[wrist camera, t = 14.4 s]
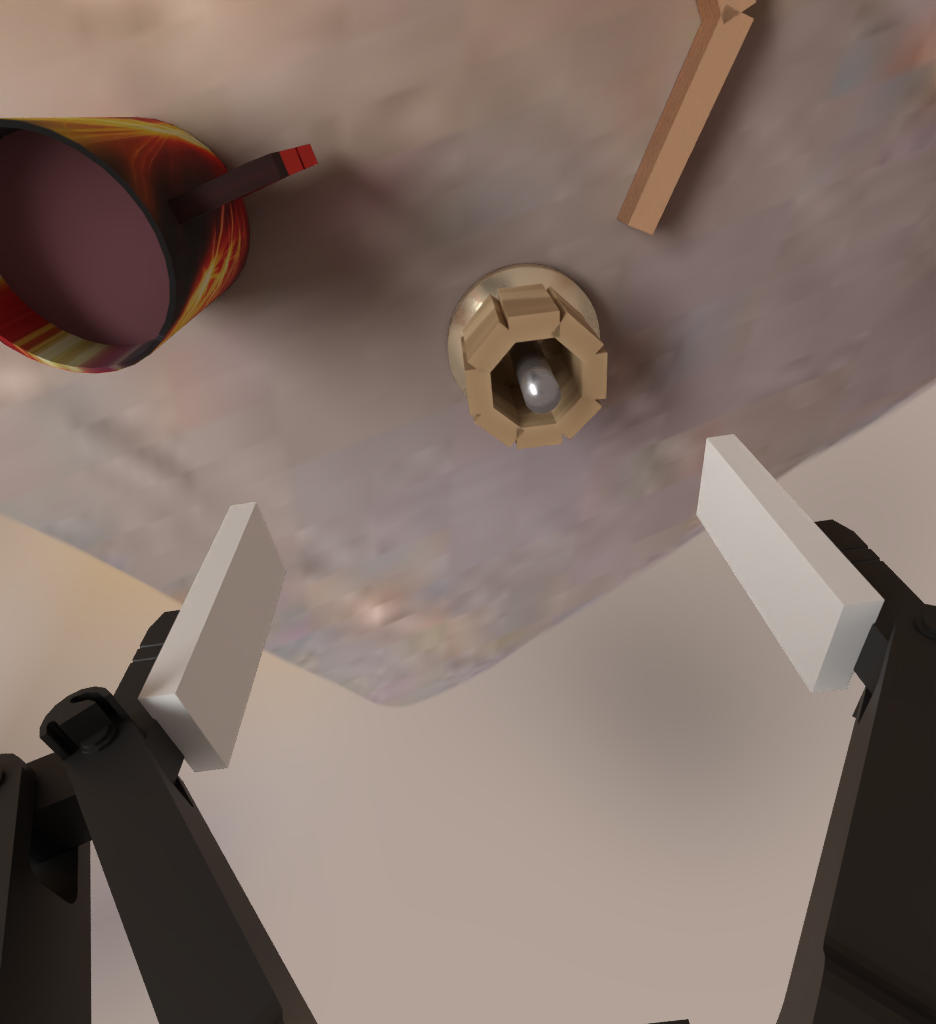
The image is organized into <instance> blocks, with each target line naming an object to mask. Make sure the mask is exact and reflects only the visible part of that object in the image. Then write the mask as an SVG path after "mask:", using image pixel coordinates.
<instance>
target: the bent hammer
mask: <svg viewBox="0 0 936 1024" xmlns="http://www.w3.org/2000/svg"><path fill="white" fill-rule="evenodd" d="M696 2H697V6H698V9H699V13H700V17H701V20H702V23H701V25H700V28H699V30H698V32H697V34H696V37H695V39H694V41H693V44H692V46H691V48H690V51H689V53H688V55H687V58H686V60H685V62H684V65H683V67H682V69H681V72H680V74H679V76H678V78H677V81H676V83H675V85H674V88H673V90H672V92H671V95H670V97H669V99H668V102H667V104H666V106H665V109H664V111H663V113H662V115H661V118H660V120H659V122H658V125H657V127H656V129H655V132H654V134H653V136H652V139H651V141H650V143H649V146H648V148H647V150H646V152H645V155H644V157H643V159H642V162H641V164H640V166H639V169H638V171H637V173H636V176H635V178H634V180H633V183H632V185H631V187H630V190H629V192H628V194H627V196H626V199H625V201H624V203H623V206H622V208H621V210H620V213H619V215H618V217H617V219H618V220H620V221H621V222H623V223H625V224H627V225H629V226H631V227H634V228H637V229H639V230H642V231H644V232H647V233H649V234H652V235H653V233H654V231H655V229H656V226H657V224H658V222H659V220H660V218H661V216H662V214H663V212H664V209H665V207H666V205H667V203H668V201H669V199H670V197H671V195H672V192H673V190H674V188H675V186H676V184H677V182H678V180H679V177H680V175H681V173H682V171H683V169H684V167H685V165H686V163H687V160H688V158H689V156H690V154H691V152H692V150H693V148H694V146H695V143H696V141H697V139H698V137H699V135H700V133H701V131H702V129H703V126H704V124H705V122H706V120H707V118H708V116H709V114H710V112H711V109H712V107H713V105H714V103H715V101H716V99H717V97H718V94H719V92H720V90H721V88H722V86H723V84H724V82H725V80H726V77H727V75H728V73H729V71H730V69H731V67H732V65H733V63H734V60H735V58H736V56H737V54H738V52H739V50H740V48H741V46H742V43H743V41H744V39H745V37H746V35H747V33H748V31H749V29H750V26H751V24H752V22H753V20H754V19H753V18H751V17H750V16H748V15H746V14H744V13H742V12H743V11H744V10H746V9H747V8H748V7H750V6H751V5H753V4H754V3H756V0H696Z"/></svg>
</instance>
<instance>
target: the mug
mask: <svg viewBox="0 0 936 1024" xmlns="http://www.w3.org/2000/svg"><path fill="white" fill-rule="evenodd" d="M316 164H318V162H317V160H316V157H315V155H314V152H313V150H312V147H311V145H310V144H308V145H303V146H299V147H296V148H292V149H288V150H283V151H279V152H275V153H271V154H268V155H265V156H263V157H260V158H258V159H255V160H253V161H250V162H248V163H246V164H244V165H242V166H240V167H238V168H236V169H234V170H232V171H230V172H228V171H227V169H226V168H225V166H224V165H223V163H222V162H221V161H220V160H219V159H218V158H217V157H216V156H215V155H214V154H213V153H212V152H211V150H210V149H209V148H208V147H206V146H205V145H204V144H203V143H201V142H200V141H199V140H197V139H196V138H195V137H193V136H192V135H191V134H189V133H187V132H185V131H183V130H181V129H180V128H178V127H176V126H174V125H171V124H168V123H165V122H162V121H159V120H156V119H148V118H139V117H94V118H0V341H1V342H2V343H4V344H5V345H6V346H8V347H10V348H12V349H14V350H16V351H17V352H19V353H21V354H23V355H25V356H26V357H28V358H31V359H33V360H36V361H38V362H41V363H43V364H46V365H49V366H51V367H55V368H59V369H64V370H68V371H72V372H82V373H104V372H112V371H118V370H121V369H123V368H126V367H129V366H132V365H135V364H136V363H138V362H139V361H141V360H142V359H144V358H145V357H147V356H149V355H150V354H151V353H152V352H154V351H155V350H156V349H157V348H158V347H160V346H161V345H162V344H163V343H164V342H165V341H167V340H168V339H169V338H170V337H171V336H173V335H174V334H175V333H176V332H177V331H178V330H180V329H181V328H182V327H183V326H184V325H186V324H187V323H188V322H189V321H190V320H191V319H193V318H194V317H195V316H196V315H197V314H199V313H200V312H201V311H202V310H203V309H204V308H206V307H207V306H208V305H209V304H210V303H212V302H213V301H214V300H215V299H216V298H217V297H219V296H220V295H221V294H222V293H223V292H224V291H226V290H227V289H228V288H229V287H230V286H231V285H232V284H233V283H234V281H235V280H236V279H237V278H238V276H239V275H240V273H241V271H242V269H243V267H244V266H245V262H246V259H247V255H248V252H249V242H250V229H249V221H248V214H247V211H246V208H245V204H244V201H243V197H245V196H247V195H249V194H251V193H254V192H256V191H258V190H260V189H262V188H264V187H266V186H268V185H271V184H273V183H275V182H277V181H279V180H281V179H283V178H285V177H287V176H290V175H292V174H294V173H297V172H299V171H301V170H304V169H306V168H309V167H311V166H313V165H316Z"/></svg>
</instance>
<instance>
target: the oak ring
mask: <svg viewBox="0 0 936 1024" xmlns="http://www.w3.org/2000/svg"><path fill="white" fill-rule="evenodd" d="M463 334H464V336H462V337H461V346H462V354H463V363H464V371H465V379H466V387H467V395H468V403H469V411H470V415H473V416H474V422H475V423H476V424H477V425H479V426H480V427H482V428H483V429H484V430H486V431H487V432H489V433H490V434H491V435H493V436H494V437H496V438H497V439H499V440H500V441H501V442H503V443H504V444H506V445H507V446H508V447H510V446H511V445H512V444H513V443H514V442H516V445H517V449H523V448H531V447H539V446H547V445H555V444H562V434H563V435H564V436H566V437H567V438H568V439H571V438H572V437H573V436H574V435H575V434H576V433H577V432H578V431H579V430H580V429H581V428H582V427H583V426H584V425H585V424H586V423H587V422H588V421H589V420H590V419H591V418H592V417H593V416H594V415H595V414H596V413H597V412H598V411H599V410H600V408H601V407H602V405H601V403H600V401H599V400H598V399H605V398H606V388H607V355H608V353H607V351H606V350H605V349H604V347H603V345H604V344H603V342H602V341H601V340H600V338H599V337H598V336H597V334H596V333H595V332H594V330H593V329H592V328H591V326H590V325H589V324H588V323H587V321H586V320H585V319H584V317H583V316H582V315H581V313H580V312H578V311H577V310H576V309H575V308H574V307H573V306H572V305H571V304H569V303H568V302H567V301H566V300H565V299H564V298H563V297H562V296H560V295H559V294H558V293H557V292H556V291H555V290H554V289H553V288H551V287H550V286H549V287H548V289H547V290H546V289H545V288H544V286H543V285H542V284H534V285H526V286H518V287H511V288H503V289H498V300H497V299H496V298H495V297H494V296H492V295H491V294H489V296H488V297H487V298H486V300H485V301H484V302H483V303H482V305H481V306H480V307H479V308H478V310H477V311H476V312H475V314H474V315H473V316H472V317H471V319H470V320H469V321H468V323H467V324H466V325H465V326H464V328H463ZM547 338H556V339H557V340H558V341H559V342H560V343H562V344H563V361H562V362H561V363H560V364H559V365H558V366H557V367H556V369H555V370H554V371H553V372H552V373H553V375H554V377H555V379H556V381H557V383H558V385H559V388H560V390H561V399H560V402H559V403H558V405H557V406H556V407H555V408H554V409H553V410H551V411H549V412H547V413H536V412H533V411H531V410H530V409H529V408H528V407H527V405H526V403H525V400H524V397H523V394H522V391H521V388H520V387H519V388H511V389H510V388H508V387H507V386H506V385H504V384H503V383H502V382H500V381H499V380H498V379H497V378H495V377H494V376H493V375H491V374H490V372H491V371H492V370H493V369H494V368H495V366H496V365H497V364H498V363H499V362H500V360H501V359H502V358H503V357H504V356H505V354H506V353H507V352H508V351H509V350H510V348H511V347H512V346H513V345H514V344H515V342H523V341H531V340H539V339H547Z"/></svg>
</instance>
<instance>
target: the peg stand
mask: <svg viewBox="0 0 936 1024" xmlns="http://www.w3.org/2000/svg"><path fill="white" fill-rule="evenodd" d="M534 284H542V285H543V286H544V288H545V289H546V290H547V289H548V287H549V286H550V287H551V288H553V289H554V290H555V291H556V292H557V293H558V294H559V295H560V296H562V297H563V298H564V299H565V300H566V301H567V302H568V303H569V304H571V305H572V306H573V307H574V308H575V309H576V310H577V311H578V312H580V313H581V315H582V316H583V317H584V319H585V320H586V321H587V323H588V324H589V325H590V326H591V328H592V329H593V330H594V332H595V333H596V334H597V336H598V337H599V338H600V330H599V324H598V319H597V316H596V313H595V310H594V308H593V306H592V304H591V302H590V300H589V299H588V297H587V296H586V294H585V293H584V292H583V291H582V290H581V288H580V287H579V286H578V285H577V284H576V283H575V282H574V281H573V280H572V279H570V278H569V277H568V276H567V275H565V274H563V273H562V272H560V271H558V270H556V269H553V268H551V267H548V266H544V265H540V264H531V263H522V264H514V265H509V266H505V267H502V268H499V269H496V270H494V271H492V272H490V273H488V274H487V275H485V276H484V277H482V278H481V279H479V280H478V281H477V282H476V283H475V284H473V285H472V286H471V287H470V288H469V289H468V291H467V292H466V293H465V294H464V295H463V297H462V298H461V300H460V301H459V303H458V304H457V307H456V309H455V311H454V313H453V315H452V318H451V321H450V325H449V330H448V341H447V344H448V358H449V363H450V368H451V371H452V374H453V376H454V378H455V380H456V382H457V384H458V386H459V387H460V389H461V390H462V392H463V393H464V394H465V395H466V396H467V397H468V395H467V387H466V379H465V371H464V363H463V354H462V346H461V337H462V336H464V334H463V328H464V326H465V325H466V324H467V323H468V321H469V320H470V319H471V317H472V316H473V315H474V314H475V312H476V311H477V310H478V308H479V307H480V306H481V305H482V303H483V302H484V301H485V300H486V298H487V297H488V296H489V294H491V295H492V296H494V297H495V298H496V299H497V300H498V289H503V288H511V287H518V286H526V285H534ZM562 361H563V344H562V343H560V342H559V341H558V340H557V339H556V338H547V339H539V340H531V341H523V342H515V344H514V345H513V346H512V347H511V348H510V350H509V351H508V352H507V353H506V354H505V356H504V357H503V358H502V359H501V360H500V362H499V363H498V364H497V365H496V366H495V368H494V369H493V370H492V371H491V372H490V374H491V375H493V376H494V377H495V378H497V379H498V380H499V381H500V382H502V383H503V384H504V385H506V386H507V387H508V388H510V389H511V388H519V387H520V388H521V391H522V394H523V397H524V400H525V403H526V405H527V407H528V408H529V409H530V410H531V411H533V412H536V413H547V412H549V411H551V410H553V409H554V408H555V407H556V406H557V405H558V403H559V402H560V399H561V390H560V388H559V385H558V383H557V381H556V379H555V377H554V375H553V373H552V372H553V371H554V370H555V369H556V367H557V366H558V365H559V364H560V363H561V362H562Z"/></svg>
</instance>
